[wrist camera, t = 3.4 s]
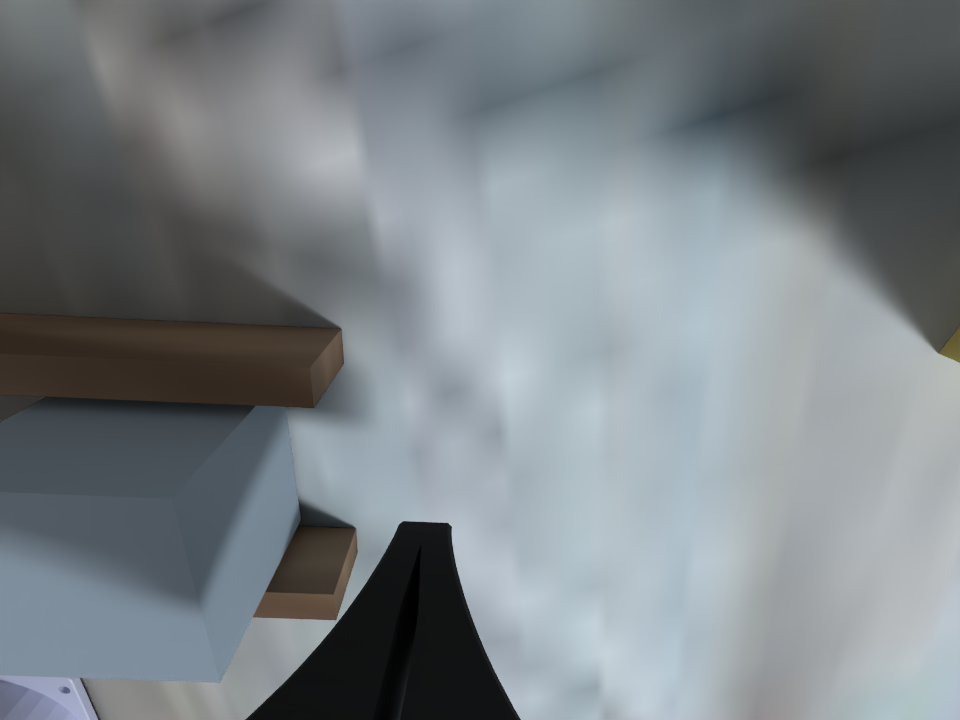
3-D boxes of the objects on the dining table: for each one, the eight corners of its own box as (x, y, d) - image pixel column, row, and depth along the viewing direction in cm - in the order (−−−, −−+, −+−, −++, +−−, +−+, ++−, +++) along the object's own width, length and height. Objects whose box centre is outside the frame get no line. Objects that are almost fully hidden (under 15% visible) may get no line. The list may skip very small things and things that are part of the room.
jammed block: (301, 519, 18) (219, 682, 12) (140, 513, 18) (-14, 674, 12) (282, 376, 15) (171, 498, 10) (96, 368, 15) (-119, 487, 10)
